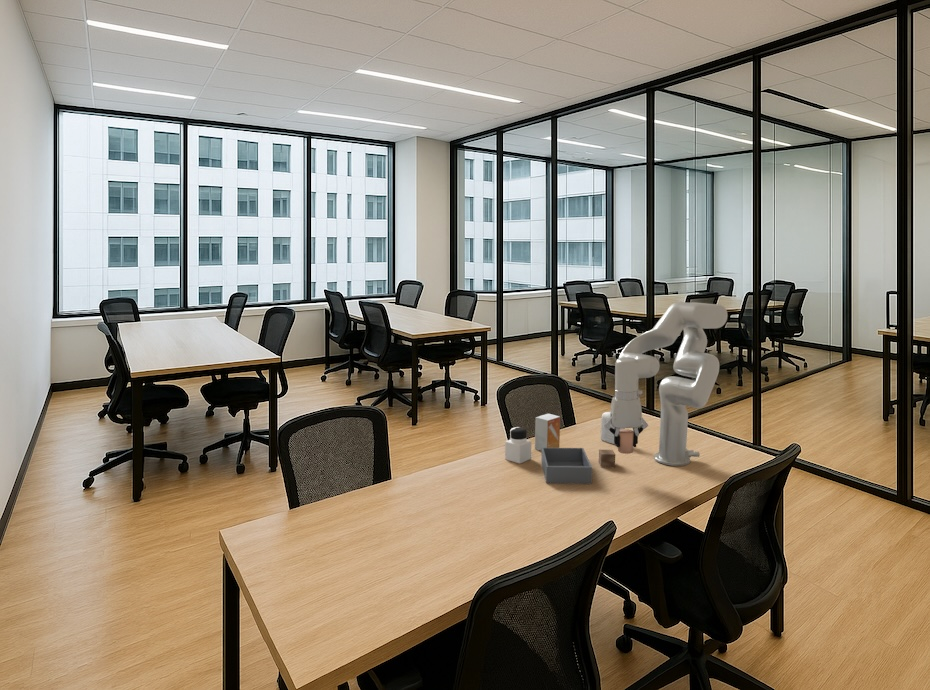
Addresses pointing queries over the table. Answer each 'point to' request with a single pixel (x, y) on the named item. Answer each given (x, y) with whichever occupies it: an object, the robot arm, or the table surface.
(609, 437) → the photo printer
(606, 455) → the walnut cube
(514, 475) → the table surface
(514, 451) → the medicine bottle
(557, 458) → the tote
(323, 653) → the table surface
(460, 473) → the table surface
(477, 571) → the table surface
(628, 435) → the pink rounded block
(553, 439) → the small box
